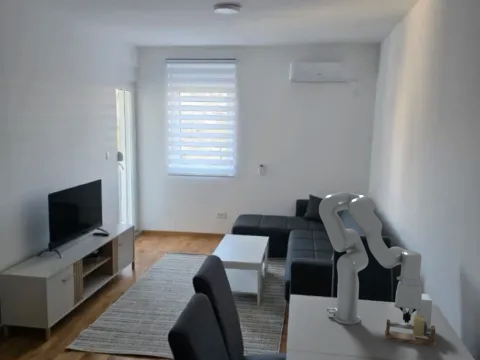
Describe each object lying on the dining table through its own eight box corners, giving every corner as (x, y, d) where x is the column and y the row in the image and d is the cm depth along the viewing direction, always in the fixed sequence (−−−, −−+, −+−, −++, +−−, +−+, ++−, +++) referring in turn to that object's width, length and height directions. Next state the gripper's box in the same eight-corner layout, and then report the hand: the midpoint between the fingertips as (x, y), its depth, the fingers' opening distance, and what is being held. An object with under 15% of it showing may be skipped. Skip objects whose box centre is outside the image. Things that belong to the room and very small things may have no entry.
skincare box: (430, 334, 197) (433, 301, 194) (414, 333, 198) (417, 299, 196) (426, 326, 205) (429, 293, 203) (411, 324, 206) (413, 292, 204)
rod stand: (385, 339, 191) (386, 321, 190) (384, 333, 197) (386, 315, 196) (435, 347, 186) (437, 328, 185) (433, 340, 192) (435, 322, 190)
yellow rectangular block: (413, 335, 188) (414, 319, 187) (412, 330, 193) (413, 314, 192) (423, 336, 187) (424, 321, 186) (422, 331, 192) (423, 316, 191)
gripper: (391, 281, 187) (388, 322, 189) (430, 286, 183) (426, 328, 185) (390, 275, 194) (387, 315, 196) (427, 279, 190) (424, 320, 192)
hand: (406, 321), depth 191 cm, fingers closed
